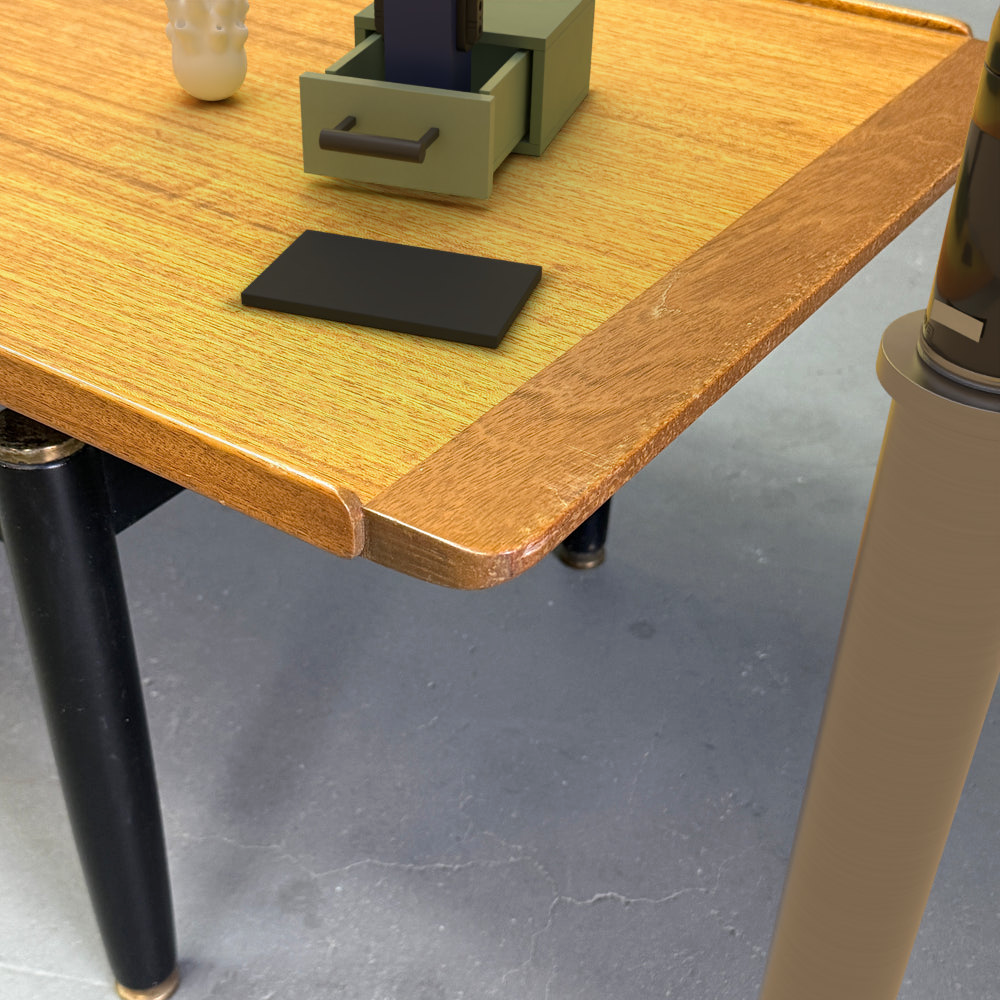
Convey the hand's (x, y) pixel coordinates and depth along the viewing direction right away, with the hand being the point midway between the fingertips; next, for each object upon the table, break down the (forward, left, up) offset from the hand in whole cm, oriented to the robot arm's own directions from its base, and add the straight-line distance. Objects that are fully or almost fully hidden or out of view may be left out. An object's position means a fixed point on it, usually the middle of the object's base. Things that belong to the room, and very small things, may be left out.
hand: (429, 43), depth 97 cm
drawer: (0, +2, -8) cm, 8 cm away
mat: (-5, +20, -9) cm, 23 cm away
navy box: (0, 0, -5) cm, 5 cm away
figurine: (+21, -8, -9) cm, 24 cm away
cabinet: (0, -13, -9) cm, 16 cm away
